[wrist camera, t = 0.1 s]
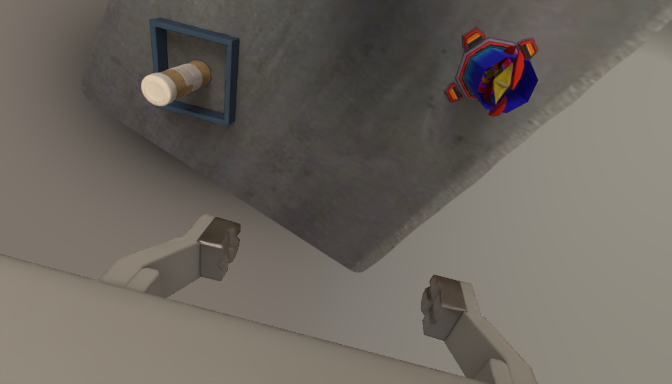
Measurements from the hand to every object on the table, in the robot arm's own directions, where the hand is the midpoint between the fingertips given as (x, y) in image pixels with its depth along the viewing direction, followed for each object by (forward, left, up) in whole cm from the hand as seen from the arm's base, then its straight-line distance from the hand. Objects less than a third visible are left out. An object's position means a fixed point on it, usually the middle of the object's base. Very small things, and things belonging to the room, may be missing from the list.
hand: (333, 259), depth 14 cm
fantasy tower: (-3, +18, -48) cm, 52 cm away
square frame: (+9, -30, -48) cm, 57 cm away
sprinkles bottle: (+9, -30, -48) cm, 57 cm away
